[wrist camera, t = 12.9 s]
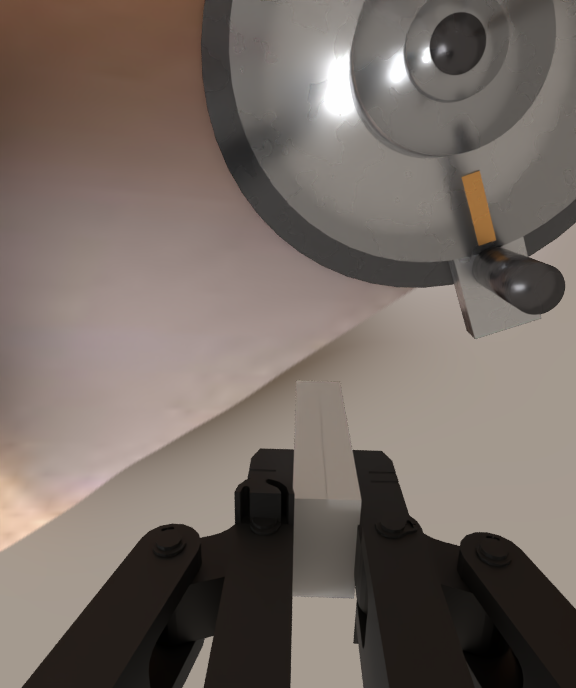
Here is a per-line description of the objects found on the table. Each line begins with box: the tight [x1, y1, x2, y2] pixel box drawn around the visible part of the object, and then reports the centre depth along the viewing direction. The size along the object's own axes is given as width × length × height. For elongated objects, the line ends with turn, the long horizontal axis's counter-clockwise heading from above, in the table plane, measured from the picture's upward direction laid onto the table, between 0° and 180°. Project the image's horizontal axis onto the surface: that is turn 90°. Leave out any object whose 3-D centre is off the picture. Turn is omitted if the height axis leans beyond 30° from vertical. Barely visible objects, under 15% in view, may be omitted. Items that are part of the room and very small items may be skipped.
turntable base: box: [201, 0, 576, 288], centre depth 28 cm, size 26×26×1 cm
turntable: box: [229, 0, 576, 339], centre depth 24 cm, size 23×25×8 cm
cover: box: [348, 0, 556, 159], centre depth 24 cm, size 9×9×4 cm
